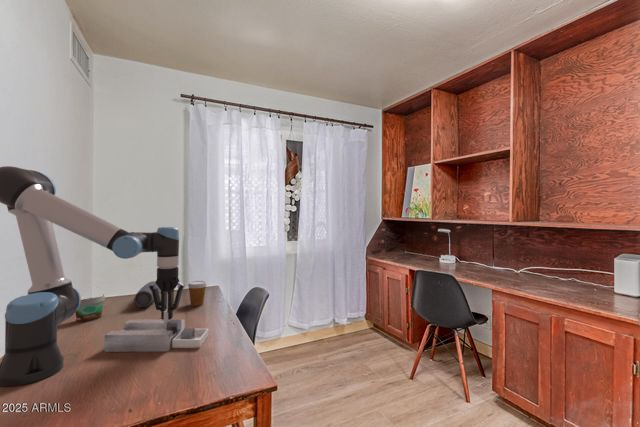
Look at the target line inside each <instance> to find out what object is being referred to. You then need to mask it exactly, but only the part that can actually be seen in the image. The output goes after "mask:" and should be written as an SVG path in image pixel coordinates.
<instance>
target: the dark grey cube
mask: <svg viewBox="0 0 640 427" xmlns="http://www.w3.org/2000/svg"><path fill="white" fill-rule="evenodd" d="M195 329H196V328H185V329H184V330H183V331H182V332H181V339H195Z"/></svg>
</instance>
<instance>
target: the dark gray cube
mask: <svg viewBox="0 0 640 427" xmlns="http://www.w3.org/2000/svg"><path fill="white" fill-rule="evenodd" d="M169 330H173V334H177V333H178V332H179V331H180V330H181V320H170V321H169V322H168V323H167V331H169Z"/></svg>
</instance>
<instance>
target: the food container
mask: <svg viewBox="0 0 640 427" xmlns="http://www.w3.org/2000/svg"><path fill="white" fill-rule="evenodd" d="M105 300H106V296H105V294H102V296H96V297H87V298H84V299H81V303H80V306H79V308H78V309H77V311H76V312H75V313H74V314H75V318H76V319H75V320H76V322H79V323H85V322H93V321H96V320H99V319H101V318H102V315H103V314H102V313H103V307H104V301H105Z"/></svg>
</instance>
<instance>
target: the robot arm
mask: <svg viewBox="0 0 640 427" xmlns="http://www.w3.org/2000/svg"><path fill="white" fill-rule="evenodd" d="M56 193H57V187H56V184H55V182H54V180H53V179H51V178H50V177H49V176H48V175H46V174H44V173H41V172H40V171H37V170H32V169H25V168H21V167H17V166H11V165H8V166H6V165H5V166H0V203H1V204H2V205H5V206H6V207H7V211H8V213H10V214H12V215H14V216H15V217H16V222H17V226H18V230H19V235H20V239H21V243H22V246H23V252H24V255H25V259H26V264H27V268H28V272H29V276H30V280H31V287H30V288H29V289H27V294H26V295H21V296H18V297H16V298H14V299H12V300H11V301H9V303H8V304H7V305H6V308H5V313H4V319H5V320H4V321H5V322H4V325H5V326H4V327H5V329H4V330H5V331H4V333H5V336H4V341H5V342H4V356H3V358H2V360H1V361H0V386H1V387H16V386H23V385H27V384H32V383H36V382H39V381H41V380H44V379H46V378H49V377H51V376H53V375H56V374H57V373H58V372H59V371H61V370H62V368H64V364H65V363H64V359H65V358H64V356H63V355H62V352H61V350H60V347H59V345H58V344H59V343H58V326H59V325H61V324H62V323H63V322H65V321H66V320H69V319H70V318H71V317H72V316H74V314H76V313H75V312H76V311H77V309H78V308H79V306H80V303H81V300H82V297H81V294H80V292H79V291H78V290H77V289H76V288H74V287H73V283H72V280H71V279H69V278H67V277H65V273H64V272H65V271H64V268H63V265H62V264H63V263H62V260H61V254H60V252H59V248H58V242H57V239H56V235H55V234H56V233H55V230H54V226H53V224H54V225H57V226H59V227H61V228H63V229H65V230H67V231H70V232H72V233H74V234H75V235H78V236H81V237H82V238H84V239H86V240H89V241H91V242H93V243H95V244H97V245H99V246H101V247H103V248H106V249H107V250H110V251H112V252H113V253H114V255H115V256H116V257H117V258H120V259H124V260H126V259H132V258H135V257H137V256H138V255H140V254H141V253H155V252H156V254H157V255H156V267H157V268H156V280H155V282H156V283H154V284H152V285H150V286H149V288H150V289H151V291H152V294H153V298H154V301H153V302H154V306H155V310H156V311H160V312H161V314H160V316H161V317H160V318H161V319H162V320H164V326H163V329H167V323H168V322H169V321H170V319H173V318H174V311H175V310H176V309H178V308H179V306H180V302H181V299H182V293H183V290H184V288H185V287H186V284H185V283H181V282H180V279H179V267H178V266H179V259H180V258H179V254H180V249H179V248H180V232H179V229H178V227H174V226H161V227H158V228H157V230H156V231H155V232H153V231H152V232H146V231H145V232H143V231H141V232H140V231H139V232H138V231H137V232H134V231H131V232H128V231H127V230H125V229H122V228H120V227H119V226H117V225H114V224H112V223H111V222H109V221H107V220H105V219H103V218H101V217H99V216H96V215H95V214H94V213H91V212H89V211H86V210H85V209H83V208H81V207H79V206H77V205H75V204H72V203H71V202H69V201H66V200H65V199H63V198H60V196H56ZM158 287H159V288H160V290H161V291H160V293H159V292H158ZM176 288H177V291H176V294H175V289H176ZM174 294H175V295H174ZM174 296H175V298H174Z"/></svg>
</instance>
